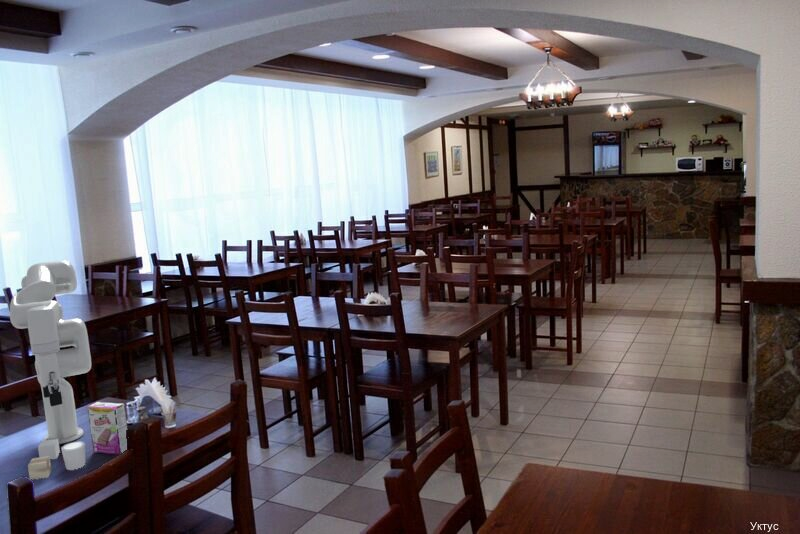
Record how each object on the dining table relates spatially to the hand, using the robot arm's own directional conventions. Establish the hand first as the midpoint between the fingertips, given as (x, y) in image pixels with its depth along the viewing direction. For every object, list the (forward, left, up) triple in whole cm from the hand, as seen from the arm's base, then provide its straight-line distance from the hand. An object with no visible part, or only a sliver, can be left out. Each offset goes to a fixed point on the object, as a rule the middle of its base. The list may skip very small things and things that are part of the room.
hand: (53, 400), depth 204 cm
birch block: (-2, -7, -24) cm, 25 cm away
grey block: (-16, -7, -24) cm, 30 cm away
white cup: (-5, +3, -24) cm, 25 cm away
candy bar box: (-13, +12, -24) cm, 30 cm away
